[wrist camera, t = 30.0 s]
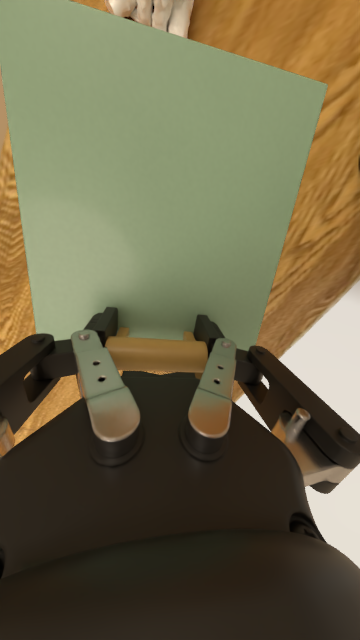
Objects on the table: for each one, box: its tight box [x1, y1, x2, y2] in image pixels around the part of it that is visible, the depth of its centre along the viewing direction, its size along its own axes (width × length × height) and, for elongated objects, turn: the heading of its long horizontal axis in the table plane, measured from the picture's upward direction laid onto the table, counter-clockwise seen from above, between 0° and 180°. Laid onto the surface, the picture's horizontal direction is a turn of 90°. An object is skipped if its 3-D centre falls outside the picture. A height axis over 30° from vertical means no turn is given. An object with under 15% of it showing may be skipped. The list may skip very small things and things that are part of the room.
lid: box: [0, 0, 328, 373], centre depth 11 cm, size 19×18×5 cm
